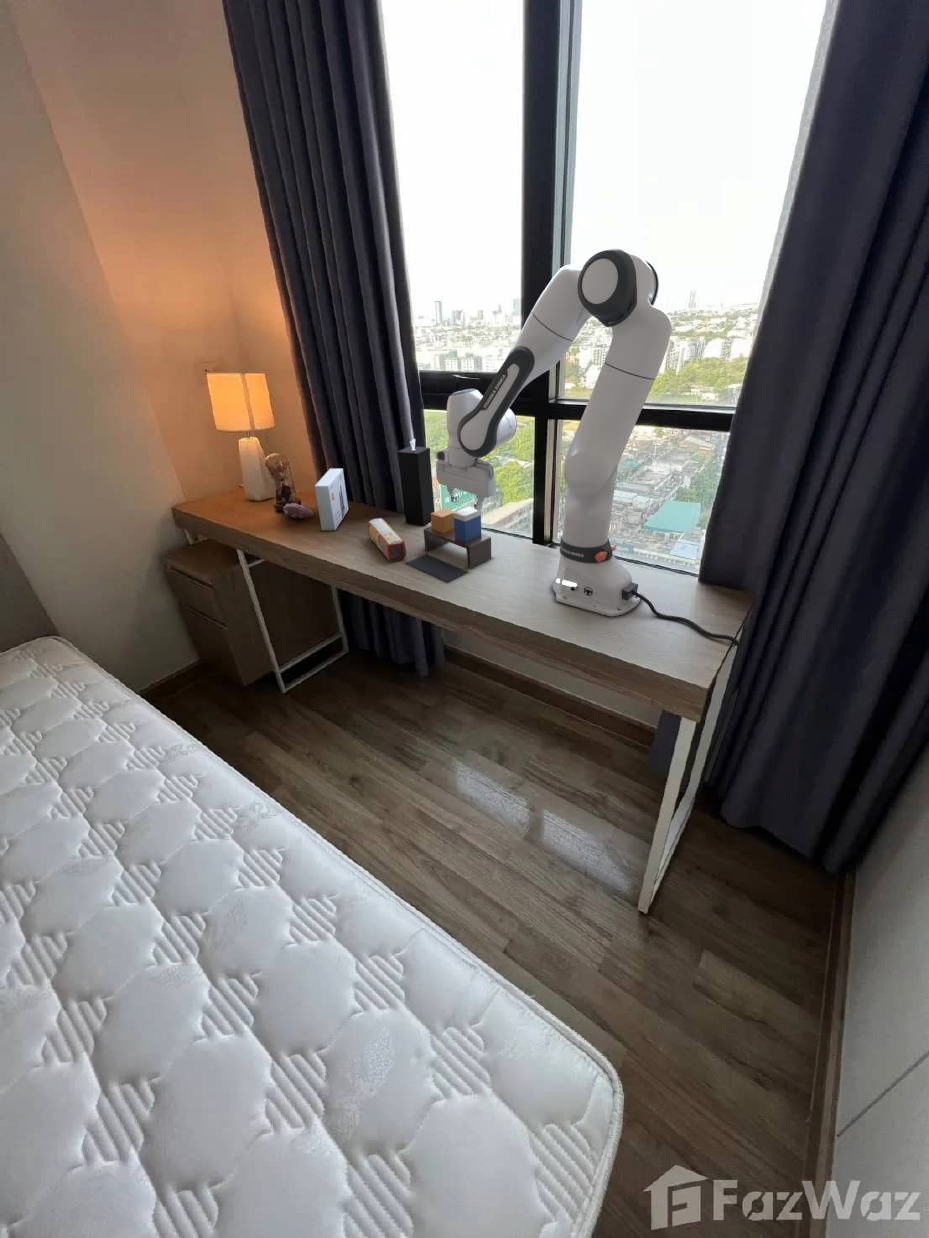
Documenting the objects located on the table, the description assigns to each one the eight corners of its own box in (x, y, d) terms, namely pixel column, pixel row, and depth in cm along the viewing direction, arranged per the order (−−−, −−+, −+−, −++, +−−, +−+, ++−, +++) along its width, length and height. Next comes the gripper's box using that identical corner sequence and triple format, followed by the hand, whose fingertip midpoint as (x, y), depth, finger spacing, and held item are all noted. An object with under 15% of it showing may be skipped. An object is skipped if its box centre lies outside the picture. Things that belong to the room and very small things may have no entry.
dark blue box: (481, 535, 145) (480, 509, 141) (465, 542, 142) (464, 516, 137) (470, 531, 148) (469, 506, 144) (454, 538, 145) (453, 512, 140)
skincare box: (337, 530, 172) (328, 485, 163) (321, 531, 172) (312, 486, 164) (350, 509, 190) (343, 467, 181) (336, 509, 190) (328, 468, 181)
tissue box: (405, 523, 175) (395, 441, 160) (417, 515, 181) (409, 435, 166) (424, 526, 172) (416, 443, 157) (435, 518, 178) (429, 437, 162)
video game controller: (287, 521, 186) (278, 508, 180) (292, 512, 188) (283, 498, 182) (310, 523, 183) (302, 510, 177) (315, 513, 185) (307, 500, 179)
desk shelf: (491, 558, 148) (491, 536, 144) (470, 569, 143) (469, 546, 139) (446, 541, 161) (444, 520, 157) (425, 550, 155) (423, 529, 152)
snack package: (408, 558, 151) (406, 538, 147) (388, 564, 148) (385, 543, 145) (387, 535, 167) (384, 515, 163) (367, 539, 165) (364, 519, 161)
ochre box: (456, 527, 151) (455, 512, 149) (442, 533, 148) (441, 517, 146) (445, 523, 155) (444, 508, 152) (431, 529, 151) (430, 513, 149)
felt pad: (467, 572, 141) (467, 571, 141) (447, 582, 137) (447, 581, 137) (426, 554, 152) (426, 554, 152) (406, 563, 148) (406, 562, 148)
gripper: (501, 459, 128) (501, 511, 135) (447, 447, 140) (449, 494, 148) (484, 465, 124) (485, 517, 132) (431, 451, 137) (434, 500, 144)
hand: (466, 505), depth 140 cm, fingers open, 8 cm apart
